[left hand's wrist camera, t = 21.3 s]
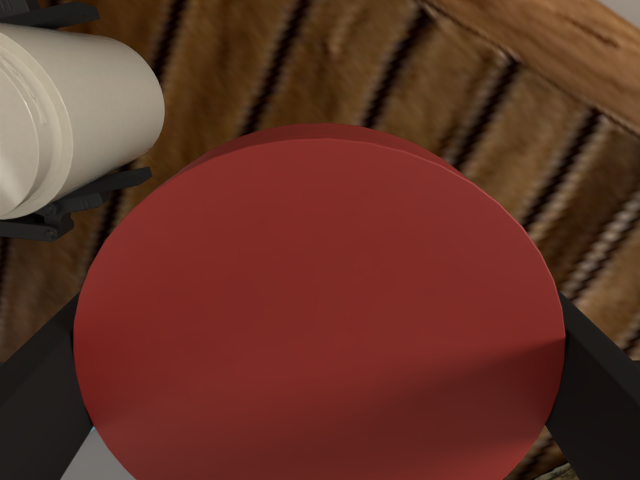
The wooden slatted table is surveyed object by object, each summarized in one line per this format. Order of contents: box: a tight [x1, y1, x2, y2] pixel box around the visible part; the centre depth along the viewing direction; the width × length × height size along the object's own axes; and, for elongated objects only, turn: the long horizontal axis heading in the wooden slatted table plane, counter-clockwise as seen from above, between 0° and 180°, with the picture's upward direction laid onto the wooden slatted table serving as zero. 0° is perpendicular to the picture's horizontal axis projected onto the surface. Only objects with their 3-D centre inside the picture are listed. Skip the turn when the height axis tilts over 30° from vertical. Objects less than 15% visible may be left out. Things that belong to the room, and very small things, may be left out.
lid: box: [73, 123, 565, 480], centre depth 11 cm, size 11×11×2 cm
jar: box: [0, 23, 165, 219], centre depth 29 cm, size 10×10×17 cm
